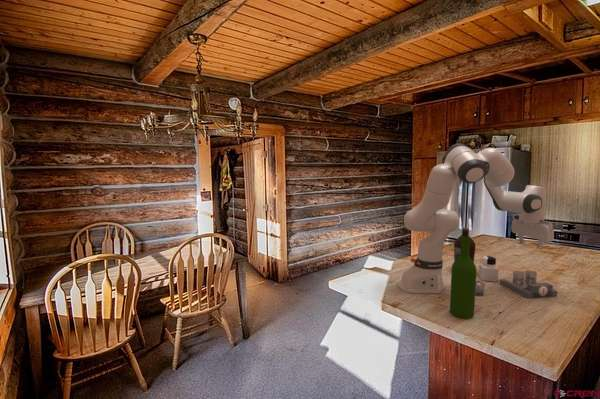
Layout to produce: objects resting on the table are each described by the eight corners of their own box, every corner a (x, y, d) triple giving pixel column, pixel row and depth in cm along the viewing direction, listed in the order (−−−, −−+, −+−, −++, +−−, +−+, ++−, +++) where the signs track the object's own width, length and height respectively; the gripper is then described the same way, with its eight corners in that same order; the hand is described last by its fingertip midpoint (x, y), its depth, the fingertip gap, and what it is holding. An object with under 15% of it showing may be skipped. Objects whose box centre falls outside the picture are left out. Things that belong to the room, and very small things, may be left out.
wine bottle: (466, 308, 136) (470, 233, 132) (478, 318, 127) (483, 239, 123) (445, 308, 135) (449, 234, 131) (456, 319, 126) (460, 239, 122)
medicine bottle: (493, 277, 171) (494, 255, 169) (497, 282, 164) (499, 259, 163) (478, 276, 173) (479, 254, 171) (482, 280, 166) (483, 258, 165)
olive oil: (463, 267, 186) (465, 225, 183) (478, 273, 176) (481, 229, 173) (448, 269, 183) (450, 227, 180) (463, 276, 173) (465, 231, 170)
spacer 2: (526, 284, 152) (526, 274, 151) (516, 284, 152) (517, 274, 152) (519, 280, 157) (520, 271, 156) (510, 280, 157) (511, 270, 156)
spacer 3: (538, 283, 153) (539, 273, 153) (530, 283, 153) (530, 273, 152) (530, 279, 158) (531, 270, 157) (522, 280, 157) (523, 270, 157)
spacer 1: (471, 290, 153) (473, 280, 152) (481, 292, 152) (483, 282, 151) (473, 294, 149) (475, 284, 148) (484, 296, 148) (486, 286, 147)
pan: (522, 289, 148) (522, 287, 148) (503, 280, 160) (503, 278, 160) (547, 287, 150) (547, 286, 150) (526, 278, 162) (526, 276, 162)
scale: (528, 298, 144) (529, 287, 143) (499, 284, 161) (500, 273, 160) (557, 296, 146) (558, 285, 145) (525, 282, 163) (526, 272, 163)
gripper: (559, 222, 144) (556, 251, 145) (520, 214, 164) (518, 240, 165) (547, 222, 143) (544, 252, 144) (509, 215, 163) (507, 241, 164)
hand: (530, 246), depth 155 cm, fingers open, 8 cm apart
